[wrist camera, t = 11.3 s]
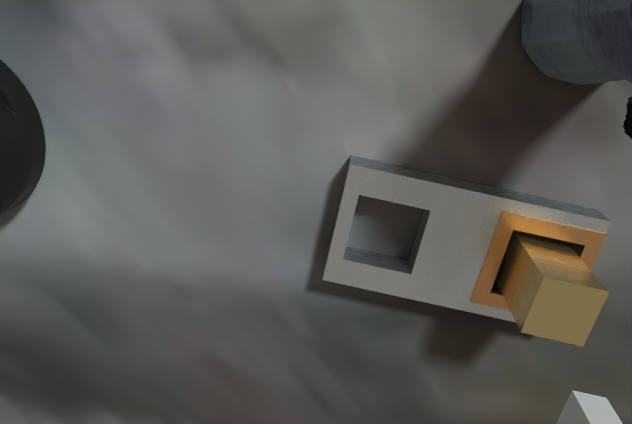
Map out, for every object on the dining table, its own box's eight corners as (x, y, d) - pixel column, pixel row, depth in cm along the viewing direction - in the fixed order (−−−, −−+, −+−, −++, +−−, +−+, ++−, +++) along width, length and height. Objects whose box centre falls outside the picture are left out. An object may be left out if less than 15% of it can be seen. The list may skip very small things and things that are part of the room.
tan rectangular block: (491, 271, 46) (520, 332, 37) (508, 224, 44) (544, 276, 36) (542, 283, 46) (583, 346, 37) (561, 236, 44) (609, 291, 36)
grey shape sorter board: (324, 266, 46) (322, 281, 44) (350, 155, 43) (350, 164, 40) (552, 316, 46) (563, 333, 44) (597, 209, 43) (612, 222, 40)
